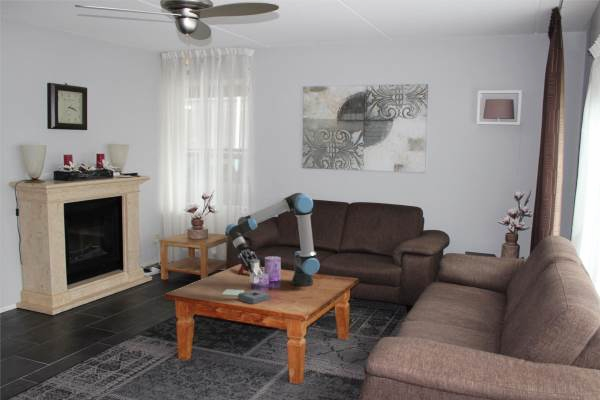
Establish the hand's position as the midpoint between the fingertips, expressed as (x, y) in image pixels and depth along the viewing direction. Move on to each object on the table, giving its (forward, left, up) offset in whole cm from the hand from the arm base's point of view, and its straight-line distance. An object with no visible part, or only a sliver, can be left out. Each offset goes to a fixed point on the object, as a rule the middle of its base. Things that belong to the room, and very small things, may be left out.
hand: (258, 275), depth 325 cm
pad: (+19, -12, -16) cm, 28 cm away
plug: (+3, -2, -5) cm, 6 cm away
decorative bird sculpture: (+23, -66, -16) cm, 72 cm away
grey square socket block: (+3, -2, -16) cm, 16 cm away
